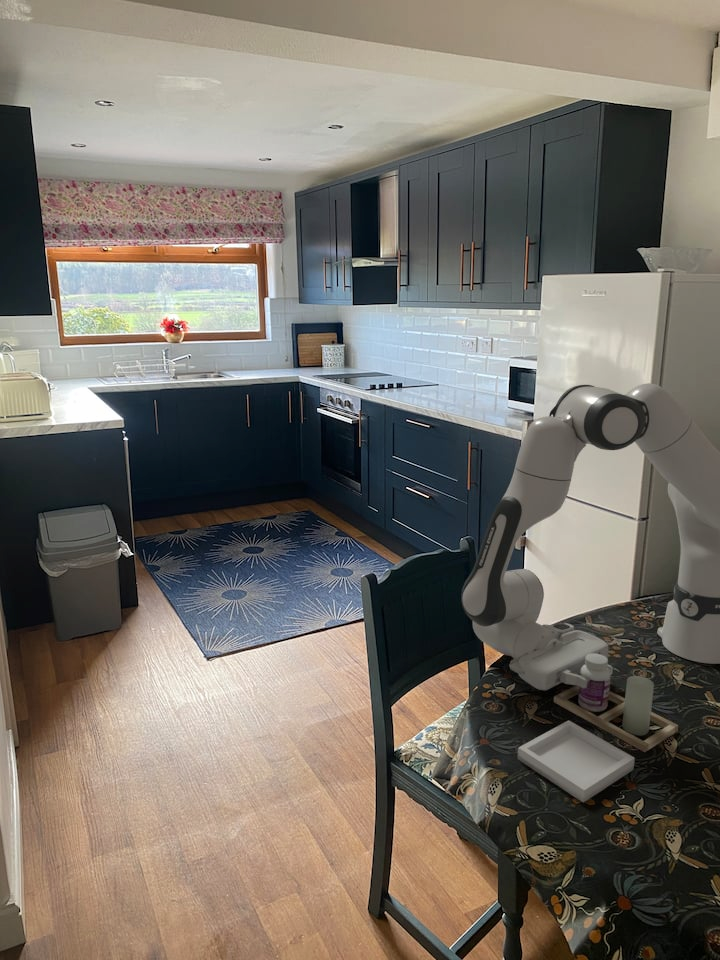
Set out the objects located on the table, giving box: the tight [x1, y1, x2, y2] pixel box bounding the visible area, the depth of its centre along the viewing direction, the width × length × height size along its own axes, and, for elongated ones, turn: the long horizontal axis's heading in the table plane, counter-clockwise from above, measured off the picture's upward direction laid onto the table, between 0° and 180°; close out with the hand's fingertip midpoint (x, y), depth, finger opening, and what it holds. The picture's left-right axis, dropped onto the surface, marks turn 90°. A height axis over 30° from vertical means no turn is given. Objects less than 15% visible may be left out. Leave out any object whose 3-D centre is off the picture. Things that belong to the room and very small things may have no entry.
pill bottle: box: [577, 653, 612, 713], centre depth 132 cm, size 5×5×10 cm
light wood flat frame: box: [553, 685, 679, 753], centre depth 130 cm, size 10×19×1 cm, turn 36°
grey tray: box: [517, 720, 636, 804], centre depth 116 cm, size 13×13×2 cm
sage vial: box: [621, 675, 655, 736], centre depth 125 cm, size 4×4×9 cm
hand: (599, 677), depth 131 cm, fingers closed on pill bottle, 5 cm apart
